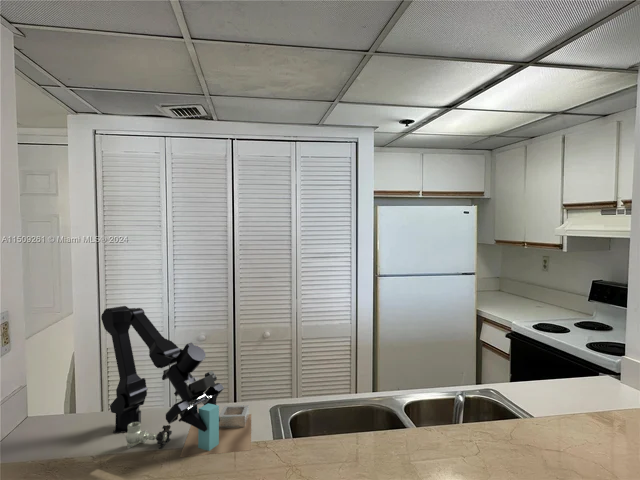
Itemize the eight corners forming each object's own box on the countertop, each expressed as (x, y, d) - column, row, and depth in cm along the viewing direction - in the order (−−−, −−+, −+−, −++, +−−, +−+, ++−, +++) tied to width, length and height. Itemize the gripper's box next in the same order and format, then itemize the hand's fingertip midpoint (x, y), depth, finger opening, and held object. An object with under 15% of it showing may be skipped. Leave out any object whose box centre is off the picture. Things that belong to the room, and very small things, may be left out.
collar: (218, 427, 115) (218, 416, 115) (224, 416, 124) (224, 405, 124) (244, 427, 116) (244, 416, 116) (248, 415, 124) (248, 405, 124)
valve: (119, 453, 104) (160, 455, 102) (120, 429, 104) (160, 431, 103) (133, 441, 110) (171, 442, 109) (134, 419, 110) (172, 420, 109)
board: (179, 461, 99) (179, 457, 99) (193, 422, 121) (193, 419, 122) (251, 454, 102) (251, 449, 102) (251, 417, 125) (251, 414, 125)
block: (198, 447, 104) (198, 408, 104) (207, 441, 107) (208, 403, 108) (209, 450, 102) (209, 411, 102) (218, 444, 106) (218, 405, 106)
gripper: (173, 374, 98) (205, 424, 94) (219, 356, 115) (248, 397, 111) (152, 399, 101) (182, 448, 97) (199, 378, 118) (227, 419, 114)
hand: (212, 426), depth 104 cm, fingers open, 5 cm apart
